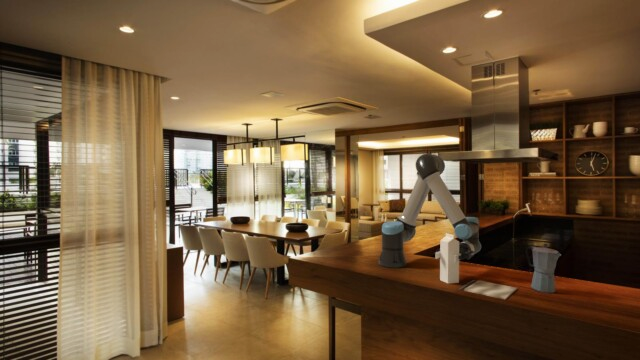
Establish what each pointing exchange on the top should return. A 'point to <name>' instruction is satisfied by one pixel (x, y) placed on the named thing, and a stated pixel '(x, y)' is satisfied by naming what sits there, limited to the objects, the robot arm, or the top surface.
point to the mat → (489, 289)
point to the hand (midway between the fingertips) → (445, 257)
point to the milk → (449, 259)
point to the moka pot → (543, 268)
